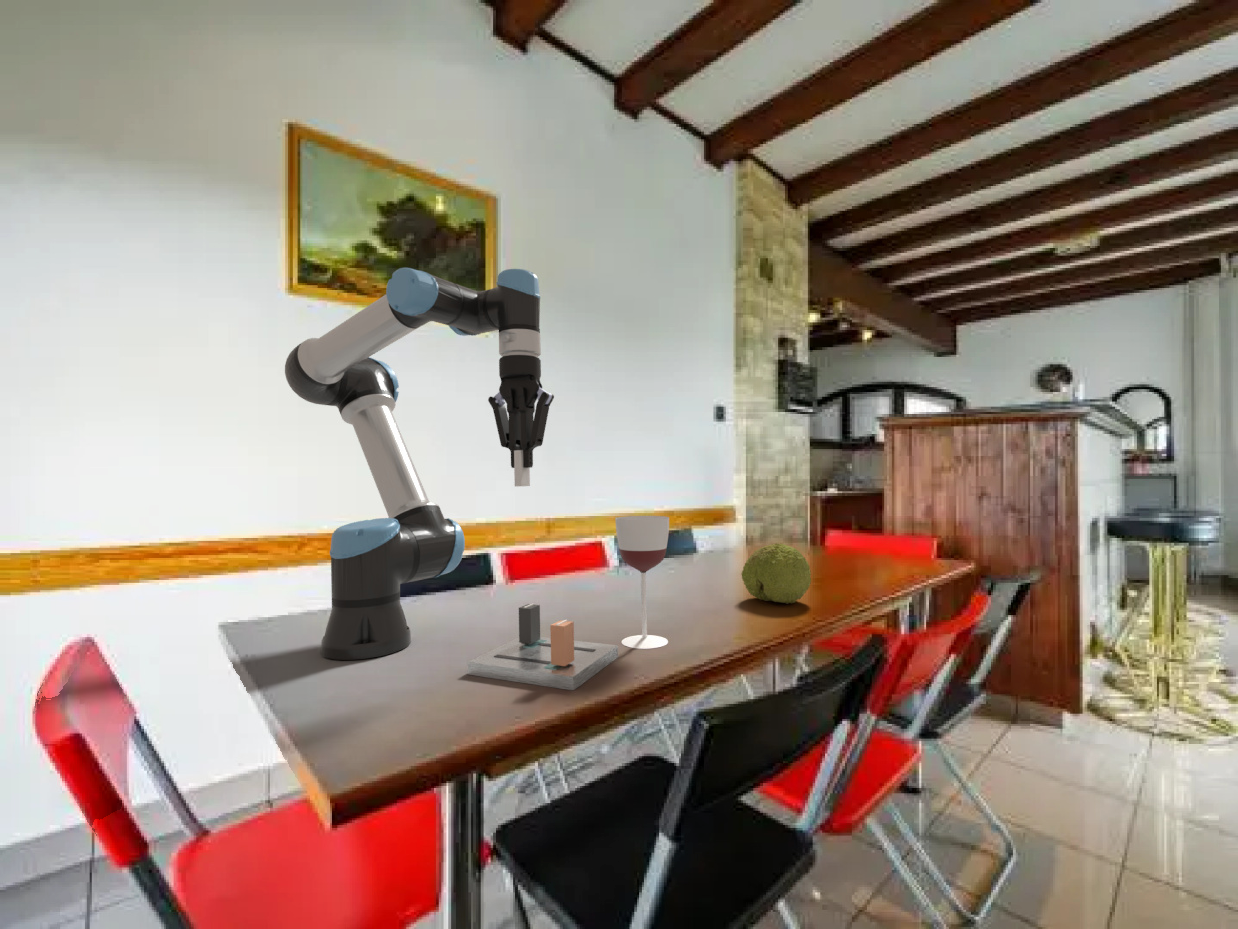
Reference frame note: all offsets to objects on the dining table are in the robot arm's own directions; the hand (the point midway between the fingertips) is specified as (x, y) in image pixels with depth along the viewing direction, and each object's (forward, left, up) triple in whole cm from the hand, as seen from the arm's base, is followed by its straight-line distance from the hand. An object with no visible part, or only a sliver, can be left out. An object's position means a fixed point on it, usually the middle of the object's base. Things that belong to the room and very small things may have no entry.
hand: (522, 486), depth 105 cm
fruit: (+37, +52, -30) cm, 70 cm away
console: (+8, -7, -29) cm, 31 cm away
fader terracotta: (+14, -11, -27) cm, 32 cm away
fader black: (+3, -3, -27) cm, 27 cm away
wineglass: (+19, +11, -30) cm, 37 cm away
